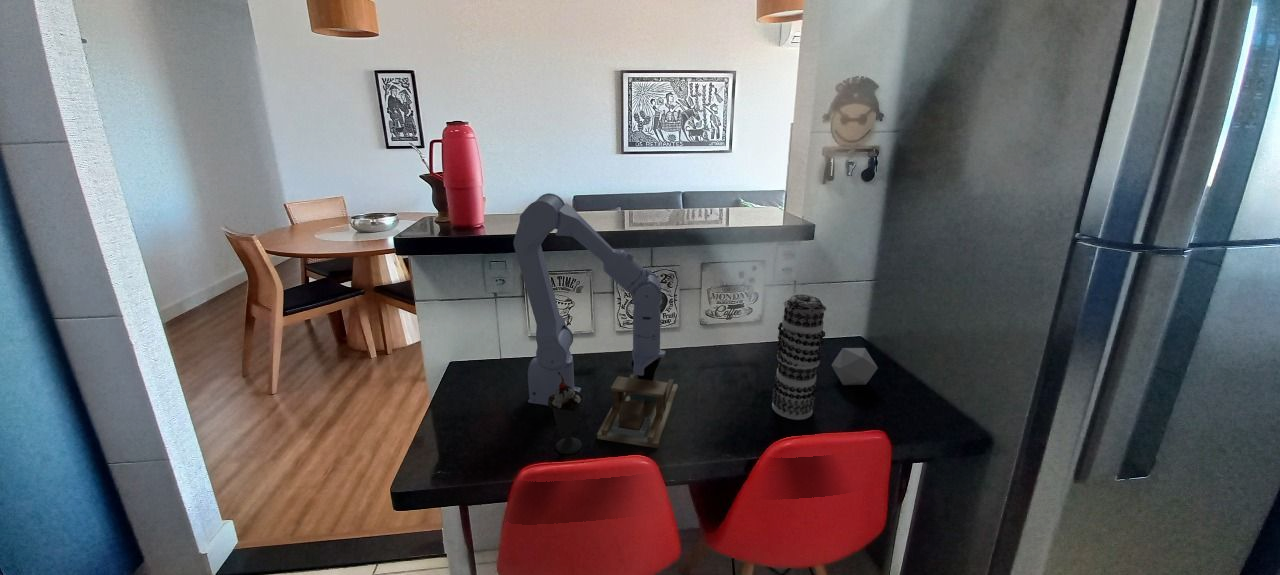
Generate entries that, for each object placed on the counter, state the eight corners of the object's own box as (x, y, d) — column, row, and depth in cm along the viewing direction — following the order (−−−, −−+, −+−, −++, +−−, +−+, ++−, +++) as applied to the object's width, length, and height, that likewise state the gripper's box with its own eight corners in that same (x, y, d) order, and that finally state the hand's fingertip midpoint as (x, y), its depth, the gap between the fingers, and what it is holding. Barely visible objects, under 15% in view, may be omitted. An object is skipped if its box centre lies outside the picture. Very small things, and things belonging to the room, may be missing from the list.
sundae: (559, 432, 99) (555, 365, 94) (591, 438, 97) (589, 370, 92) (544, 453, 93) (539, 382, 88) (578, 460, 91) (574, 388, 86)
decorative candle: (766, 415, 105) (778, 303, 96) (773, 393, 113) (784, 288, 104) (812, 425, 101) (829, 310, 93) (815, 401, 110) (830, 294, 101)
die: (864, 375, 122) (842, 339, 122) (891, 374, 113) (868, 336, 113) (840, 394, 119) (818, 358, 119) (867, 395, 111) (843, 357, 111)
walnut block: (619, 429, 97) (618, 411, 96) (624, 417, 101) (624, 400, 99) (639, 432, 96) (639, 414, 95) (643, 420, 100) (644, 403, 98)
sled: (612, 433, 97) (611, 412, 95) (630, 396, 109) (630, 377, 108) (644, 438, 96) (644, 417, 94) (659, 400, 108) (659, 381, 106)
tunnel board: (597, 438, 97) (596, 407, 95) (627, 381, 117) (626, 355, 115) (657, 448, 94) (658, 416, 92) (677, 388, 114) (678, 361, 112)
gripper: (658, 349, 97) (657, 409, 102) (671, 320, 111) (670, 374, 115) (623, 345, 99) (623, 404, 104) (640, 317, 112) (640, 370, 117)
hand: (646, 388), depth 109 cm, fingers closed
